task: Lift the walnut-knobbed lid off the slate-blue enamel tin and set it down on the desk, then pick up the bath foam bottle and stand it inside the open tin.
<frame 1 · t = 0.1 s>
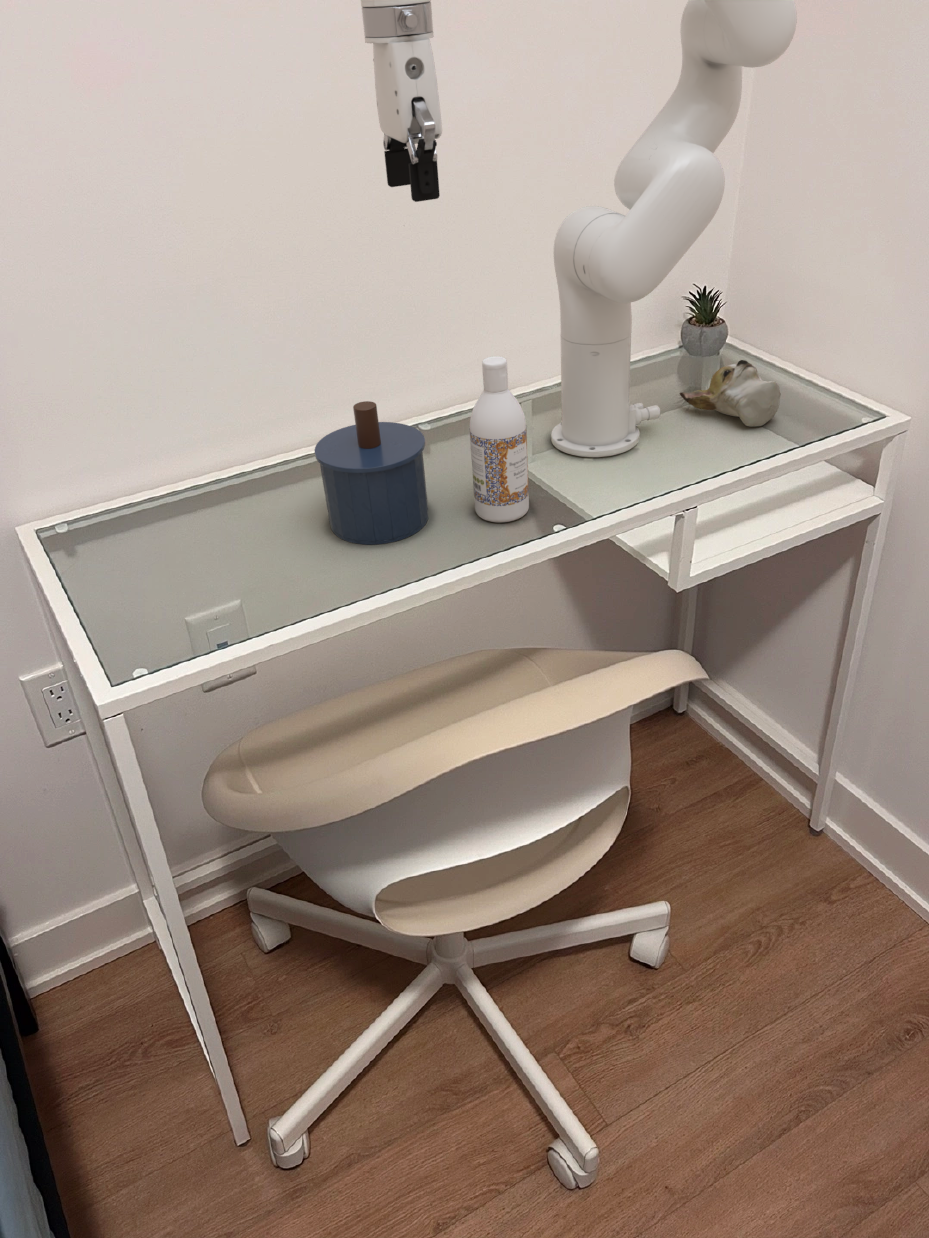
hand: (413, 192, 119), 37 cm above the table, tool pointing down, fingers open, 9 cm apart
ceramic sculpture: (735, 416, 149), on the table
tin lid: (370, 448, 124), point 10 cm above the table, touching tin
tin: (379, 520, 129), on the table
bath foam: (502, 512, 129), on the table
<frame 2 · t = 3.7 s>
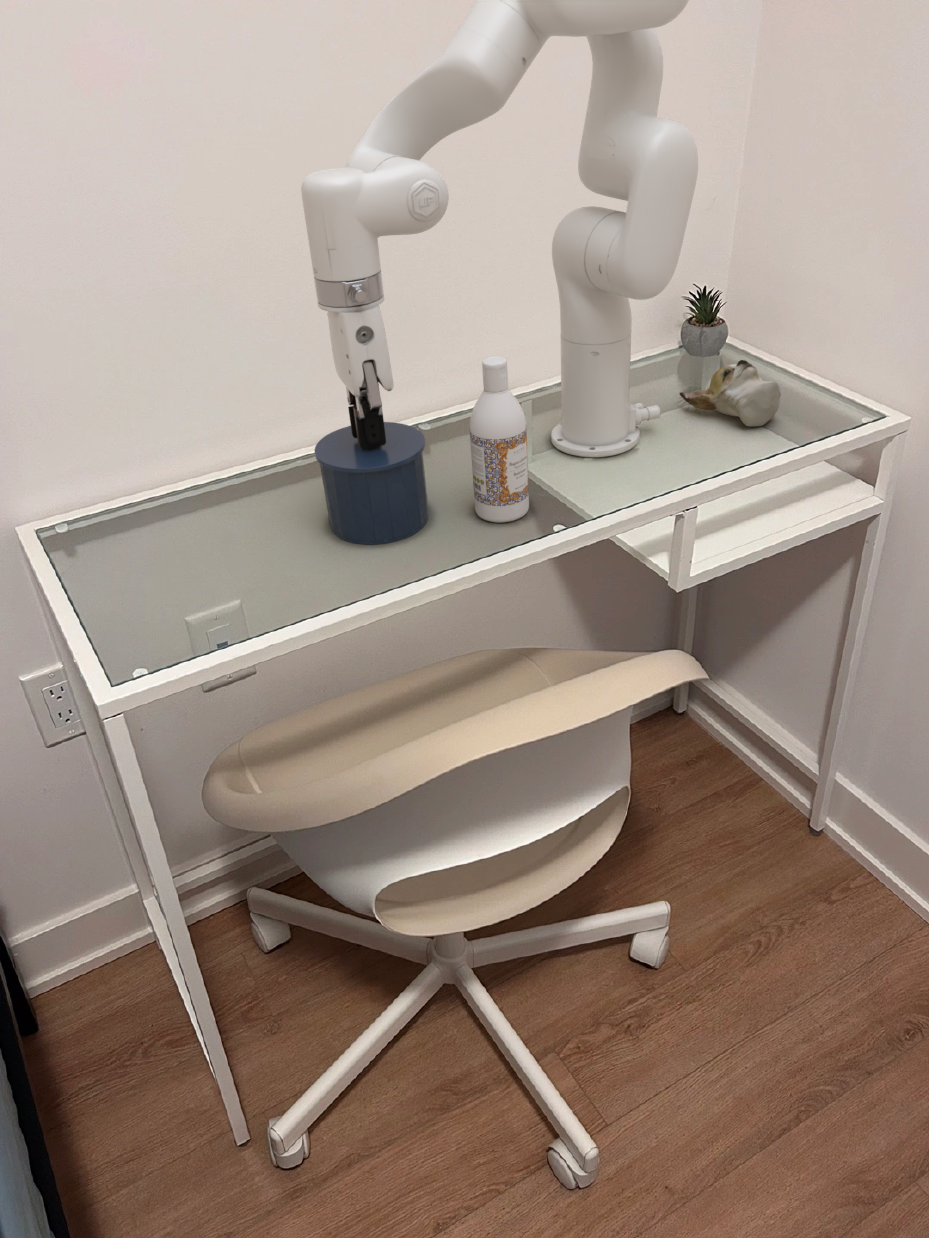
hand: (369, 439, 123), 11 cm above the table, tool pointing down, fingers closed on tin lid, 2 cm apart
tin lid: (370, 448, 124), point 10 cm above the table, touching gripper, tin
everything else where it was.
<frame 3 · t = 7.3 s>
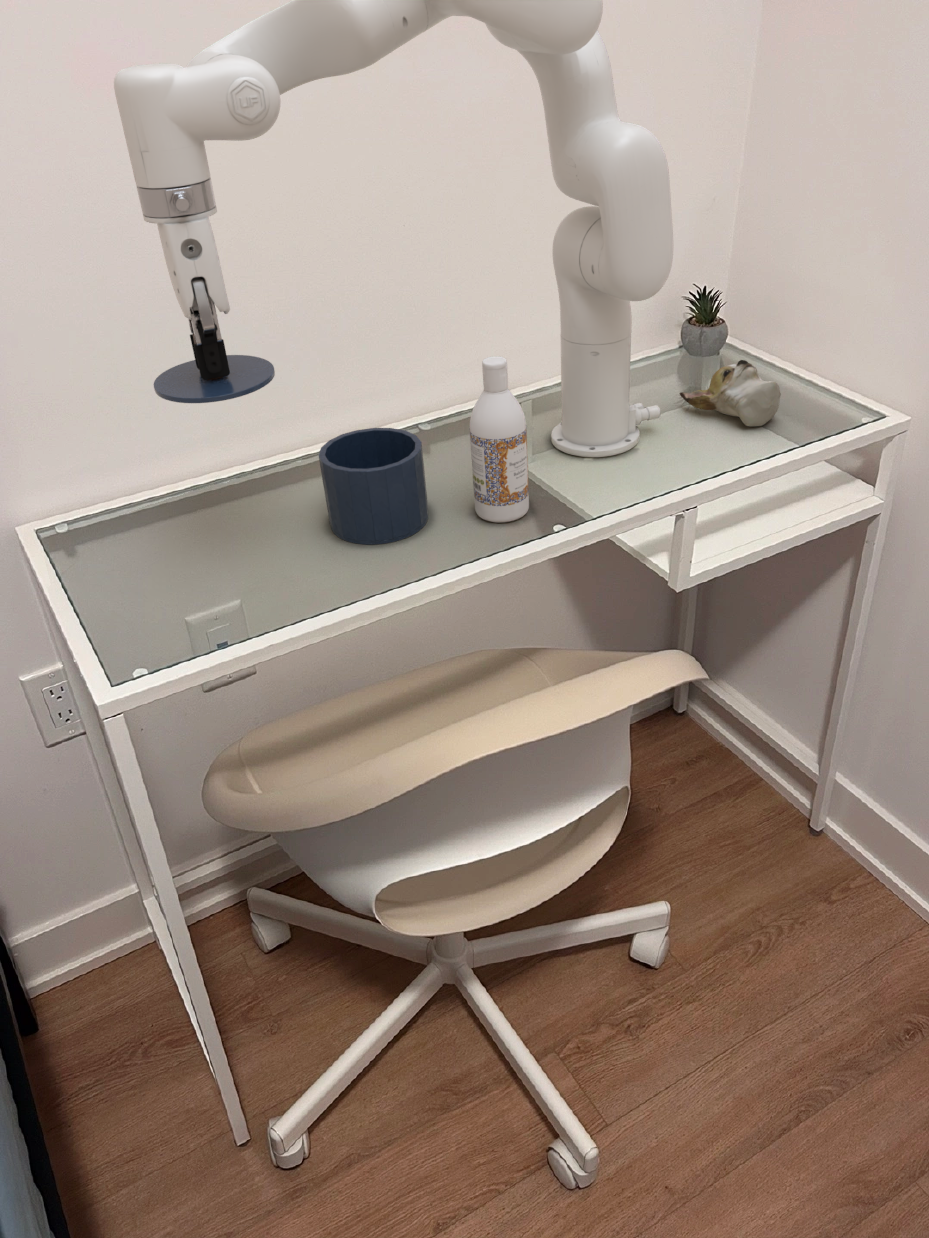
hand: (213, 370, 114), 22 cm above the table, tool pointing down, fingers closed on tin lid, 2 cm apart
tin lid: (215, 380, 115), point 21 cm above the table, touching gripper
everything else where it was.
when the fingers open (2 cm above the table, at t = 11.2 s): tin lid stays where it is, point 1 cm above the table.
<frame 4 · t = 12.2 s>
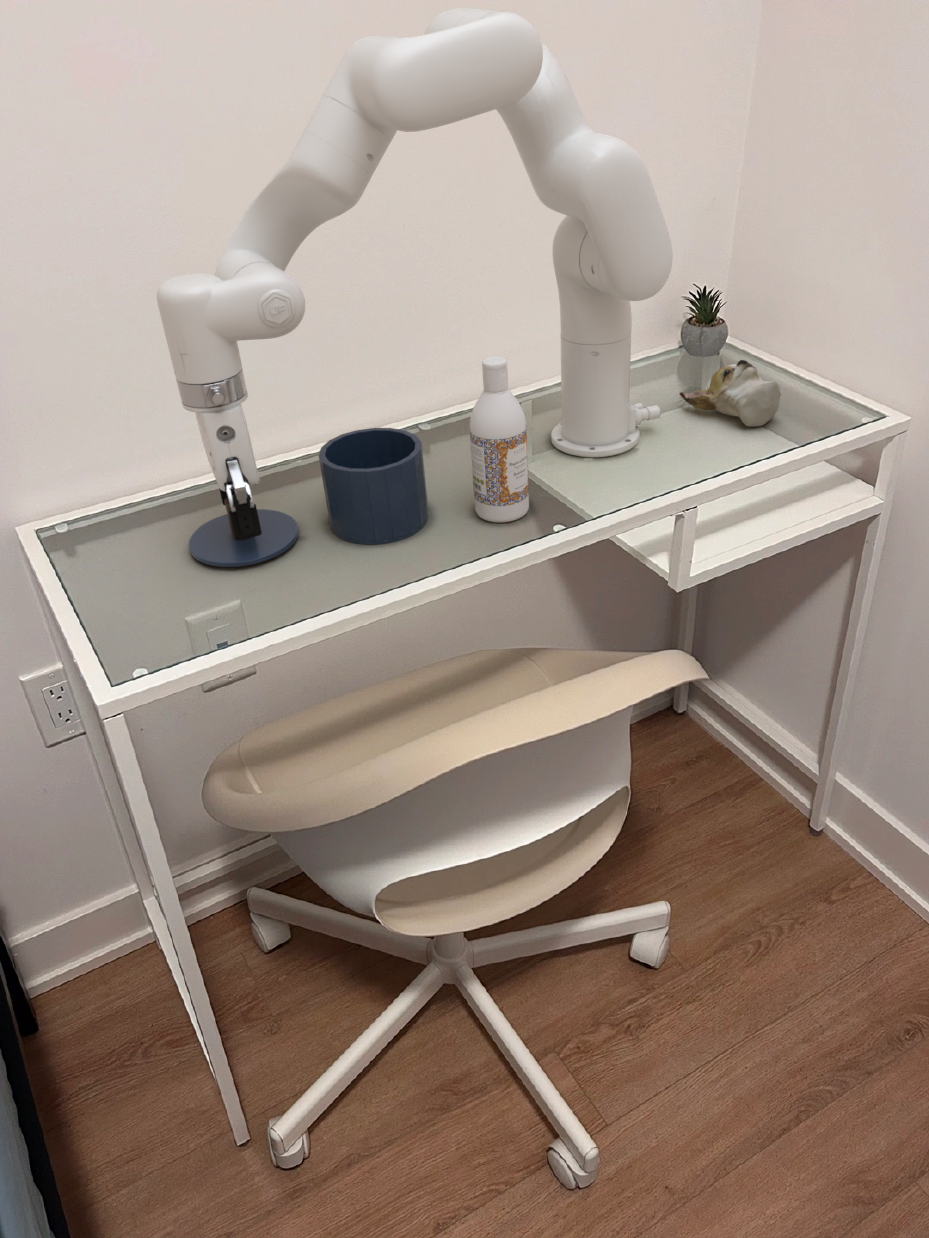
hand: (242, 519, 125), 3 cm above the table, tool pointing down, fingers open, 9 cm apart
tin lid: (244, 538, 126), point 1 cm above the table
everything else where it was.
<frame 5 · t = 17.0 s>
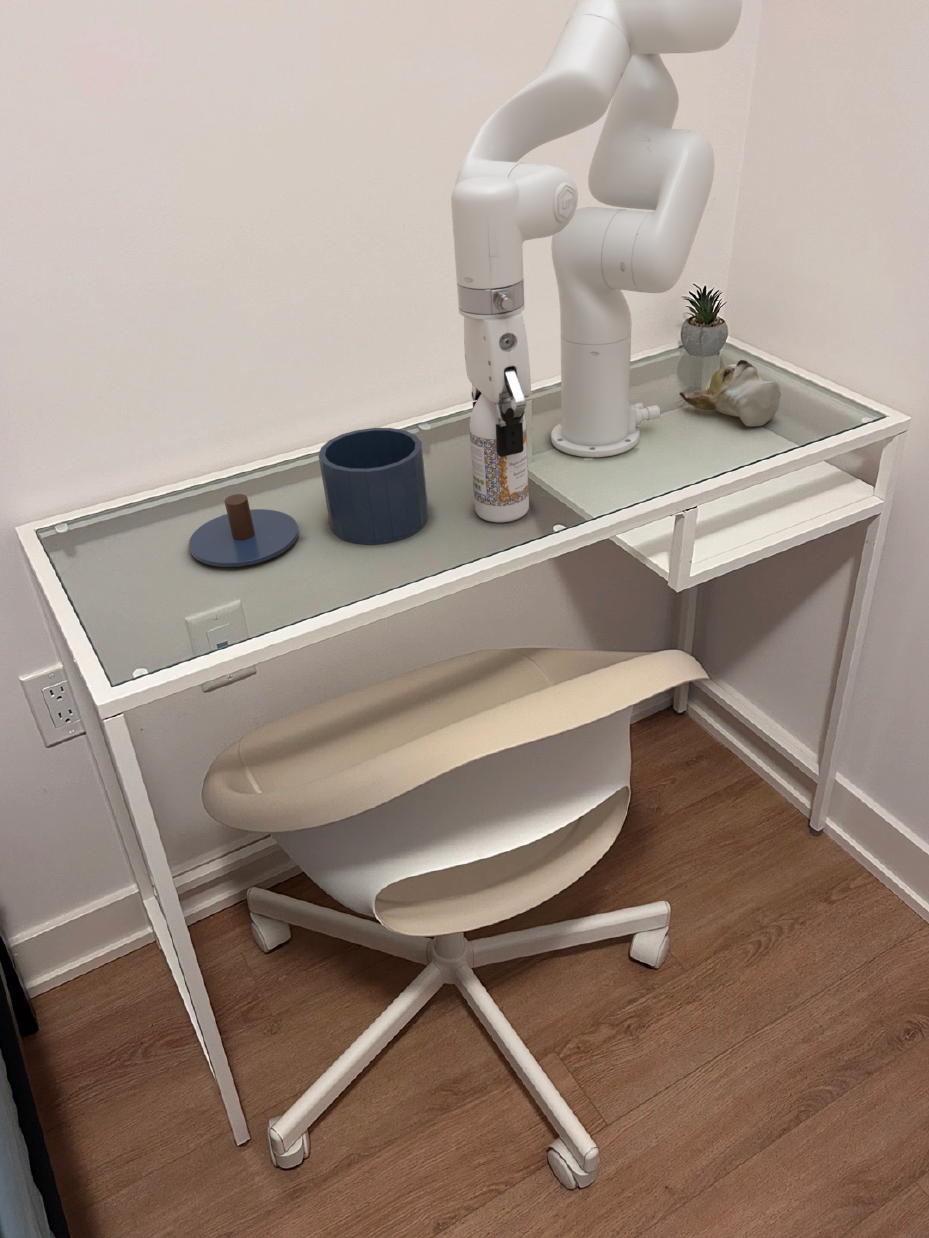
hand: (498, 440, 124), 10 cm above the table, tool pointing down, fingers closed on bath foam, 7 cm apart
bath foam: (502, 512, 129), on the table, touching gripper
everything else where it was.
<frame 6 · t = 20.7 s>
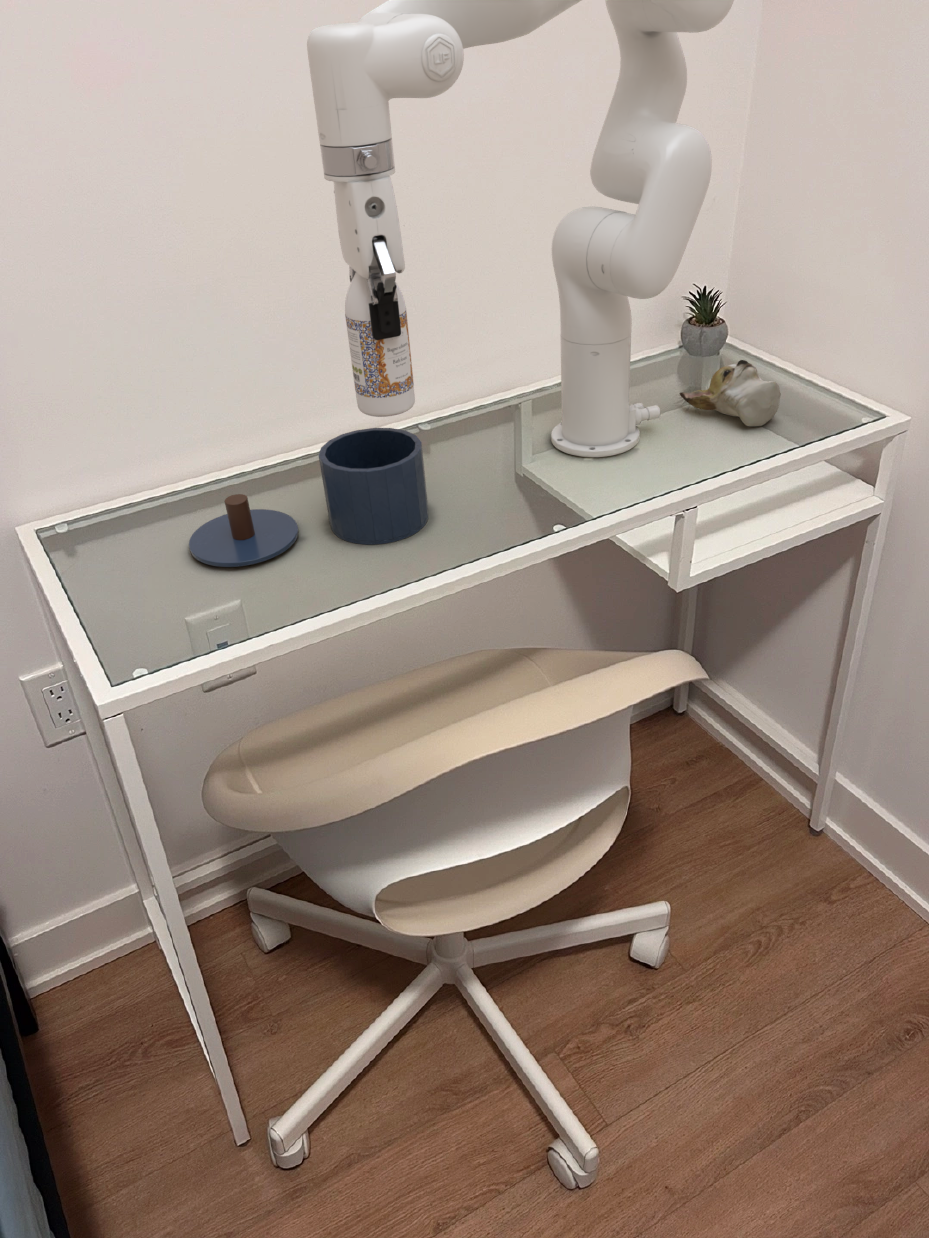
hand: (377, 326, 115), 25 cm above the table, tool pointing down, fingers closed on bath foam, 7 cm apart
bath foam: (387, 408, 121), point 15 cm above the table, touching gripper
everything else where it was.
when the fingers open (10 cm above the table, at t = 24.6 s): bath foam stays where it is, resting on tin.
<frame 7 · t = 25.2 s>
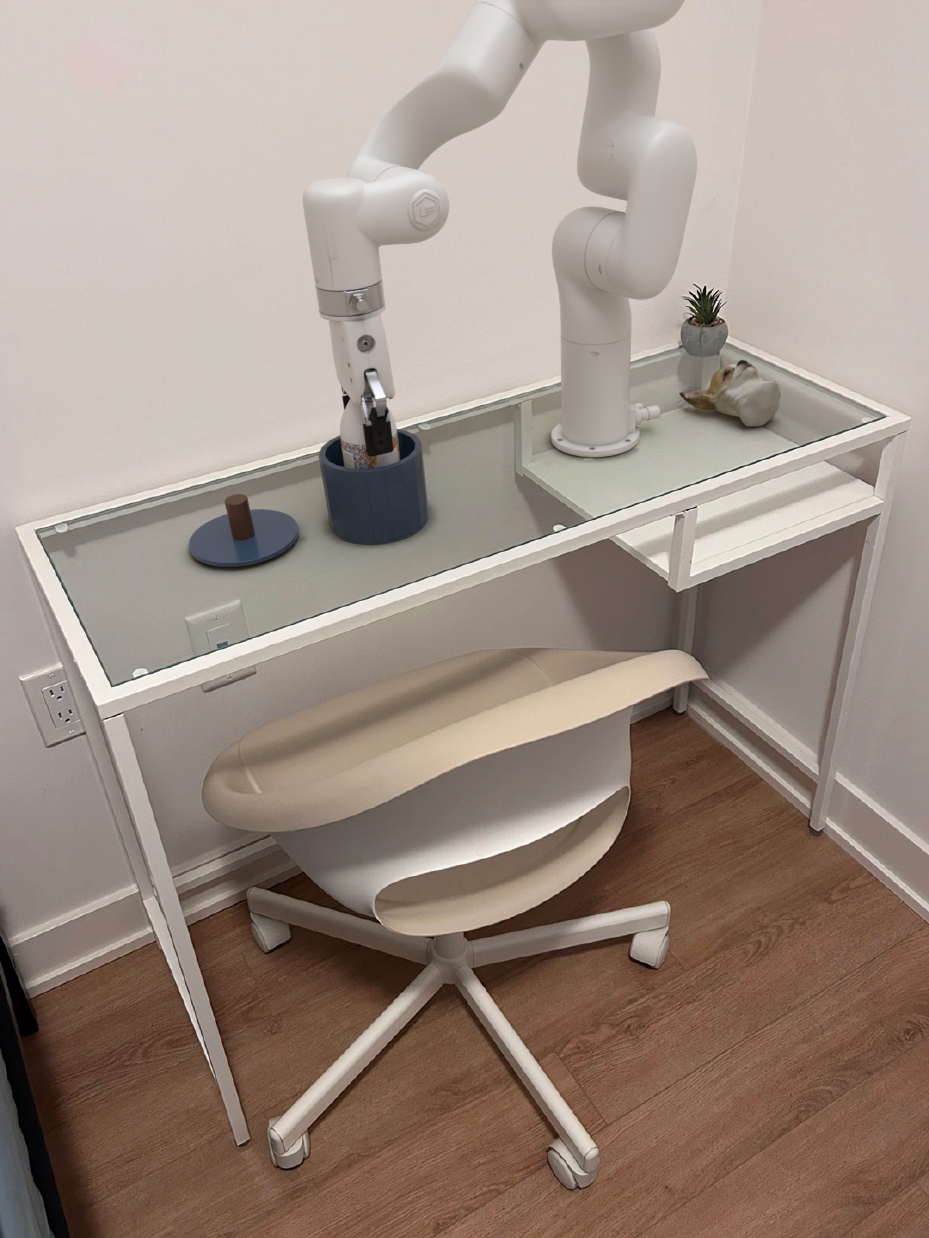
hand: (369, 438, 123), 11 cm above the table, tool pointing down, fingers open, 9 cm apart
bath foam: (379, 517, 129), resting on tin
everything else where it was.
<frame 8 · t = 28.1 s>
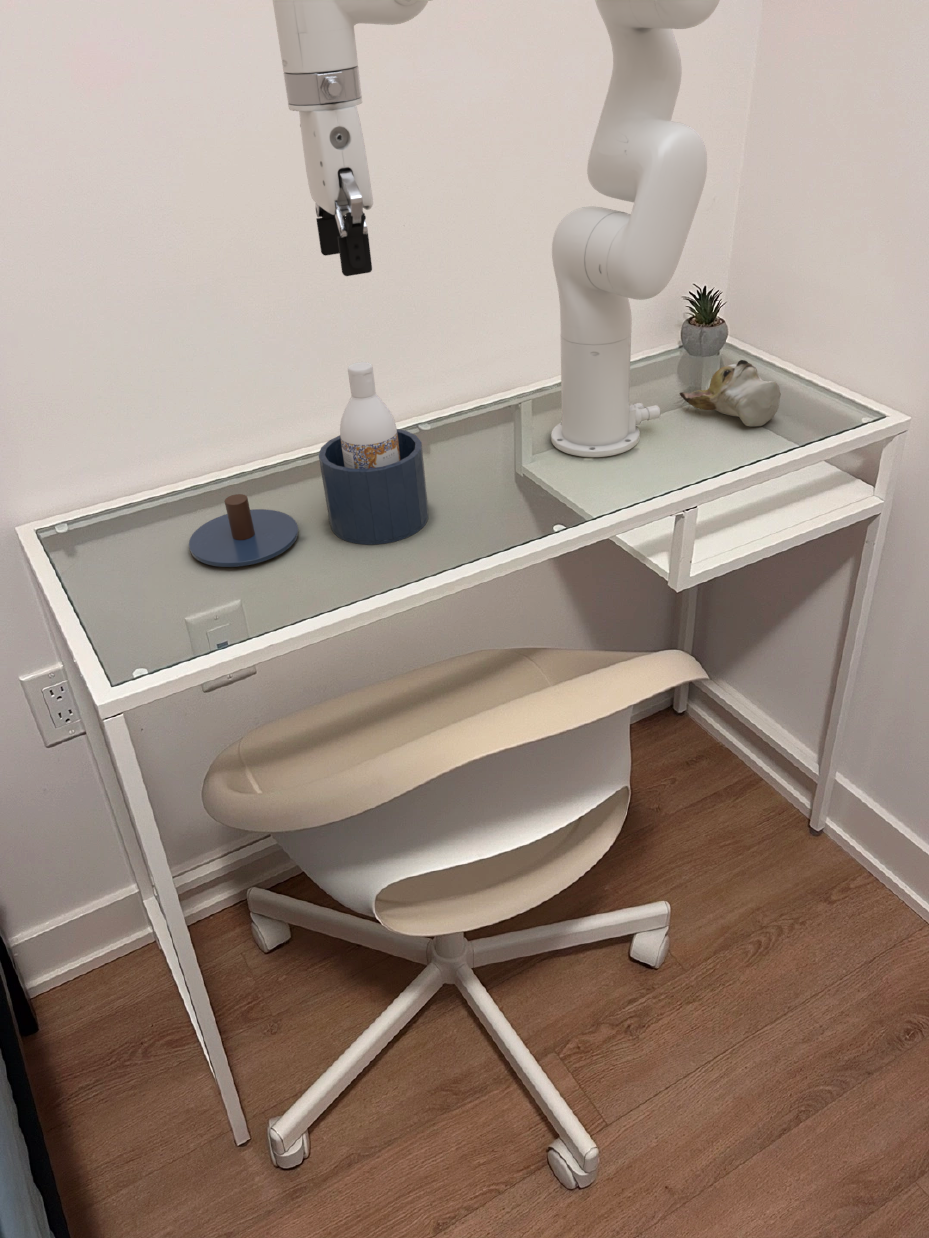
hand: (346, 263, 111), 32 cm above the table, tool pointing down, fingers open, 9 cm apart
nothing on the table moved.
at the end: tin lid inside the target area (0.1 cm from its centre), point 0.6 cm above the table; bath foam 0.0 cm off-centre in the tin, point 0.3 cm above the tin's base; bath foam tilted 0° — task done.
